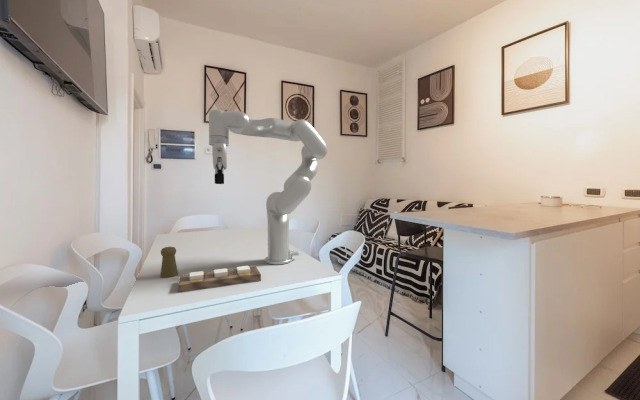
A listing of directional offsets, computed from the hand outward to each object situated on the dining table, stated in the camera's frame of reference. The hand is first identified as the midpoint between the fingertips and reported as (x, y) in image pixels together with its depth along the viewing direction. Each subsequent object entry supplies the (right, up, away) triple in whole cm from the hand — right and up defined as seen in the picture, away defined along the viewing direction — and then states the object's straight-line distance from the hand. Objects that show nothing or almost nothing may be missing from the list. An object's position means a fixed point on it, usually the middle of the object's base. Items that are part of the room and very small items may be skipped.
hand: (219, 183), depth 112 cm
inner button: (+13, -35, -9) cm, 38 cm away
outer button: (-2, -35, -16) cm, 39 cm away
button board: (+5, -36, -12) cm, 39 cm away
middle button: (+5, -35, -13) cm, 37 cm away
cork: (-17, -36, -6) cm, 40 cm away
